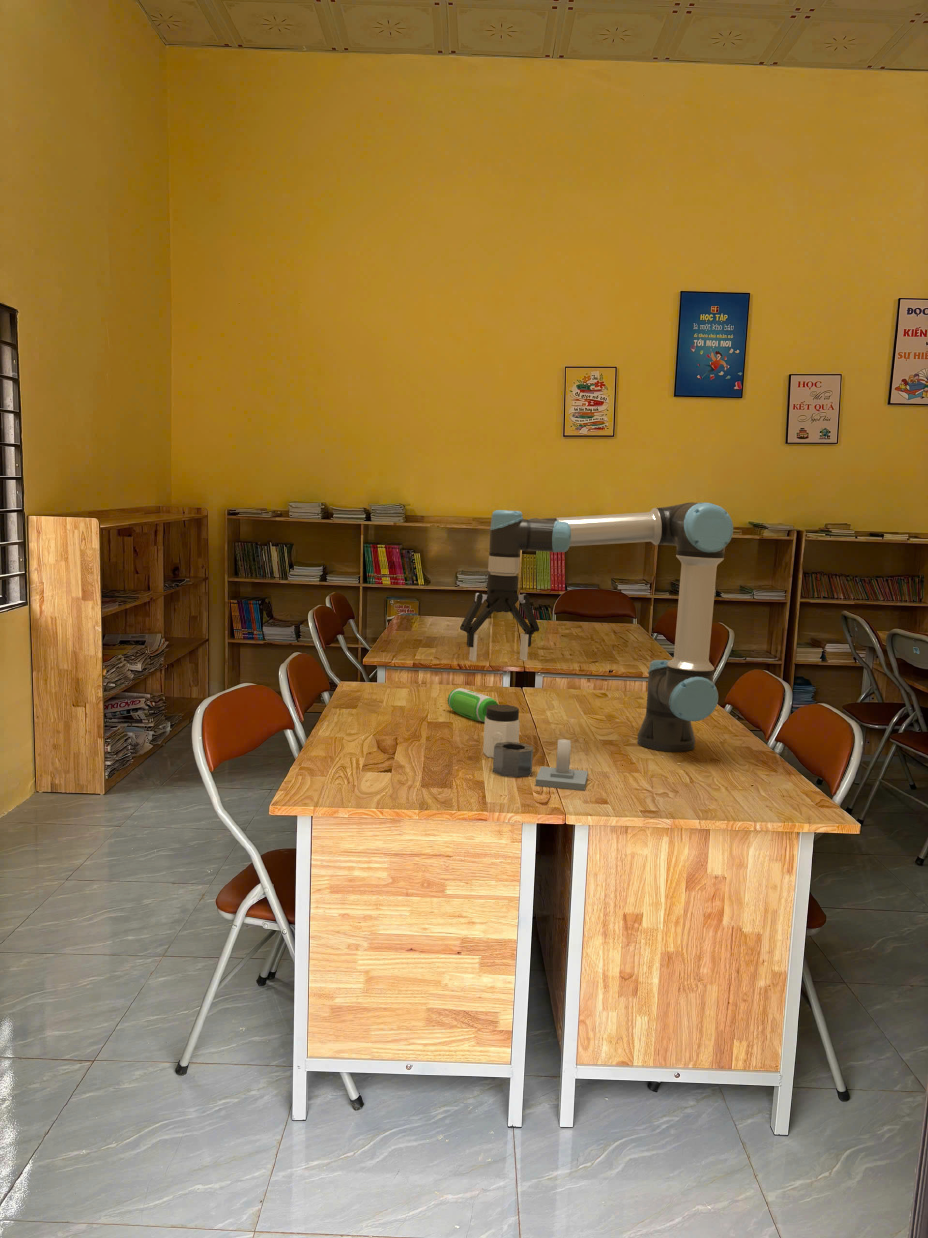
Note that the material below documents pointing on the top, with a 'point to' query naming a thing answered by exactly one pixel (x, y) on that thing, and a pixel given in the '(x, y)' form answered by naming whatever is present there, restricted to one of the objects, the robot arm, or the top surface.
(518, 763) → the tube
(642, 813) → the top surface
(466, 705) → the speaker
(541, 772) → the shaft stand
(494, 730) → the jar
